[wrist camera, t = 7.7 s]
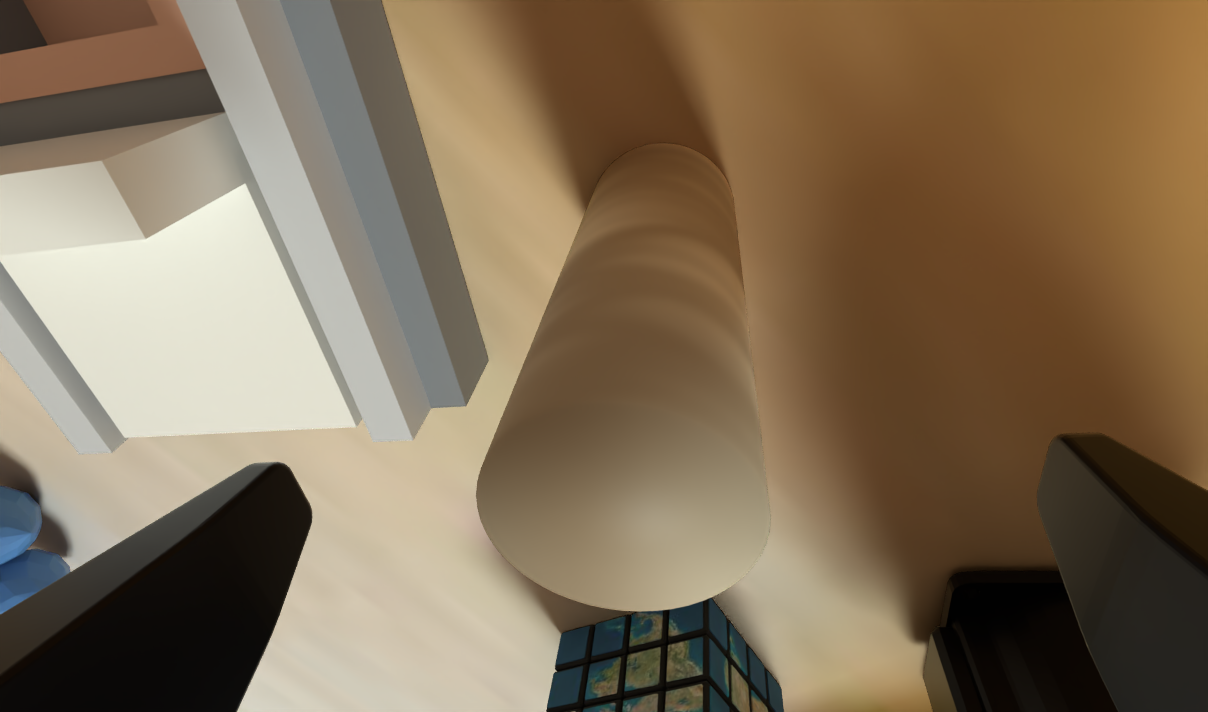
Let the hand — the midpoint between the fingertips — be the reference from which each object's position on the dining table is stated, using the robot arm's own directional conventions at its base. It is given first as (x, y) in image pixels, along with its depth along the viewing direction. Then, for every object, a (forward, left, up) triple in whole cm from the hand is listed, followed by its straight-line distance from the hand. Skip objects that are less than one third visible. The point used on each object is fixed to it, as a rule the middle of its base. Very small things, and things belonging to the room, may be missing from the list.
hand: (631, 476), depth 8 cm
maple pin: (0, 0, -8) cm, 8 cm away
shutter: (+11, 0, -6) cm, 12 cm away
